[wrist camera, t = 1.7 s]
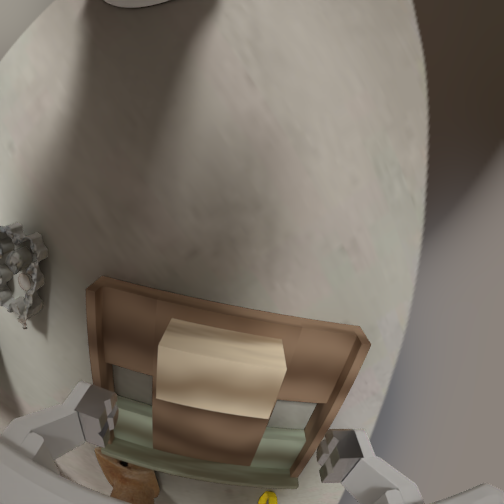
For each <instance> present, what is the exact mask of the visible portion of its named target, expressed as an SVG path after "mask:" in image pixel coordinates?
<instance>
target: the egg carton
mask: <svg viewBox="0 0 504 504" xmlns="http://www.w3.org/2000/svg"><path fill="white" fill-rule="evenodd" d="M11 238H12V239H11ZM29 239H30V240H31V246H30V248H31V249H32V252H33V253H37V261H35V262H33V263H32V261H33V256H32V253H31V251H30V249H29V248H28V247H26V246H24V247H21V248H19V249H16V250H14V244H15V245H17V244H20V243H22V242H25V241H27V240H29ZM47 255H48V249H47V248H46V247H45V245H44V243H43V240H42V235H41V234H39V233H37V232H36V233H33V234H31V235H28V236H25V234H24V232H23V227H22V224H20V223H18V222H16V223H13V224H10V225H7V226H0V306H4V307H5V308H7V309H8V310H7V311H8V312H15V313H17V314H18V315H19V318H17V320H18V321H19V322H20V323H21V324H23V329H27V327H26V320H27V319H28V318H30V317H31V316H32V315H35V314H37V313H38V312H39V311H40V310H41V309H42V308H43V301H42V300H41V299H40V297H39V295H38V292H37V290H38V288H40V287H41V286H43V285H44V275H43V274H42V273H41V271H40V268H39V262H40V261H41V260H43V259H45V258H47ZM28 266H29V268H28V269H27V270H26V273H27V274H29V275H30V276H31V278H32V281H33V282H34V287H33V288H32V289H31V290H30V288H31V282H30V279H29V277H28V276H27V275H26V274H25V273H20V274H19V277H18V282H19V285H20V287H21V288H22V289H23V290H25V291H27V292H26V294H25V298H24V297H19V298H17V299H14V298H13V296H12V293H11V290H10V289H9V288H8V287H7V281H9V280H11V279H12V276H13V274H14V275H15V274H17V273H18V272H19V271H21V270H23V269H24V268H26V267H28Z"/></svg>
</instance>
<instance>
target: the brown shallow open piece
mask: <svg viewBox="0 0 504 504" xmlns="http://www.w3.org/2000/svg"><path fill="white" fill-rule="evenodd" d="M86 314H87V331H88V343H89V354H90V363H91V371H92V379H93V385H96V386H98V387H101V388H103V389H106V390H109V391H112V392H114V393H115V391H114V380H113V367H112V364H114V365H117V366H120V367H123V368H127V369H130V370H133V371H137V372H140V373H144V374H148V375H151V376H153V384H152V405H148V404H144V403H141V402H138V401H134V400H131V399H128V398H124V397H121V396H118V395H117V399H118V400H117V402H116V405H117V406H118V409H119V415H118V420H117V424H116V426H115V428H114V429H112V430H110V436H111V437H110V439H109V441H108V443H107V445H106V447H105V448H103V447H102V448H101V452H102V454H104V455H107V456H110V457H113V458H116V459H119V460H122V461H125V462H128V463H131V464H134V465H137V466H141V467H144V468H148V469H152V470H155V471H159V472H163V473H167V474H172V475H176V476H181V477H185V478H190V479H196V480H201V481H207V482H214V483H220V484H228V485H236V486H246V487H258V488H275V489H297V487H298V486H299V484H298V476H299V475H300V473H301V472H302V470H303V469H304V467H305V466H306V464H307V463H308V461H309V460H310V458H311V457H312V455H313V454H314V452H315V450H316V449H317V447H318V446H319V444H320V442H321V441H322V439H323V437H324V436H325V434H326V432H327V431H328V429H329V427H330V425H331V424H332V422H333V420H334V418H335V417H336V415H337V413H338V411H339V409H340V408H341V406H342V404H343V402H344V400H345V398H346V396H347V394H348V392H349V391H350V389H351V387H352V385H353V383H354V381H355V379H356V377H357V375H358V372H359V370H360V368H361V366H362V364H363V362H364V360H365V358H366V355H367V353H368V351H369V349H370V346H371V343H370V342H369V340H368V339H367V337H366V335H365V334H364V332H363V331H362V329H361V328H360V326H353V325H346V324H339V323H332V322H325V321H319V320H312V319H306V318H300V317H294V316H288V315H282V314H276V313H270V312H265V311H259V310H254V309H248V308H243V307H238V306H233V305H228V304H223V303H218V302H213V301H208V300H203V299H198V298H194V297H189V296H184V295H180V294H175V293H171V292H167V291H162V290H158V289H154V288H149V287H145V286H141V285H137V284H133V283H129V282H125V281H121V280H117V279H113V278H109V277H105V276H101V277H100V278H99V279H98V280H96V281H95V282H94V283H93V284H91V285H90V286H89V287H88V288H86ZM172 318H174V319H178V320H183V321H187V322H192V323H196V324H201V325H206V326H210V327H215V328H220V329H226V330H231V331H236V332H241V333H247V334H253V335H258V336H264V337H270V338H277V339H282V343H283V349H284V355H285V361H286V367H287V371H286V373H285V376H284V379H283V382H282V385H281V387H280V390H279V393H278V395H277V398H276V401H277V399H279V400H288V401H299V402H312V403H317V405H316V407H315V409H314V411H313V413H312V415H311V417H310V419H309V421H308V423H307V425H306V427H305V429H304V430H298V429H284V428H273V427H267V424H268V422H269V419H270V417H271V414H272V412H273V409H274V406H275V404H276V401H275V403H274V406H273V409H272V411H271V414H270V416H269V419H263V418H255V417H247V416H240V415H234V414H227V413H221V412H216V411H210V410H205V409H200V408H195V407H190V406H186V405H181V404H177V403H173V402H168V401H164V400H161V399H157V398H156V381H157V358H158V345H159V343H160V341H161V339H162V337H163V335H164V333H165V331H166V329H167V327H168V325H169V323H170V321H171V319H172Z"/></svg>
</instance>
